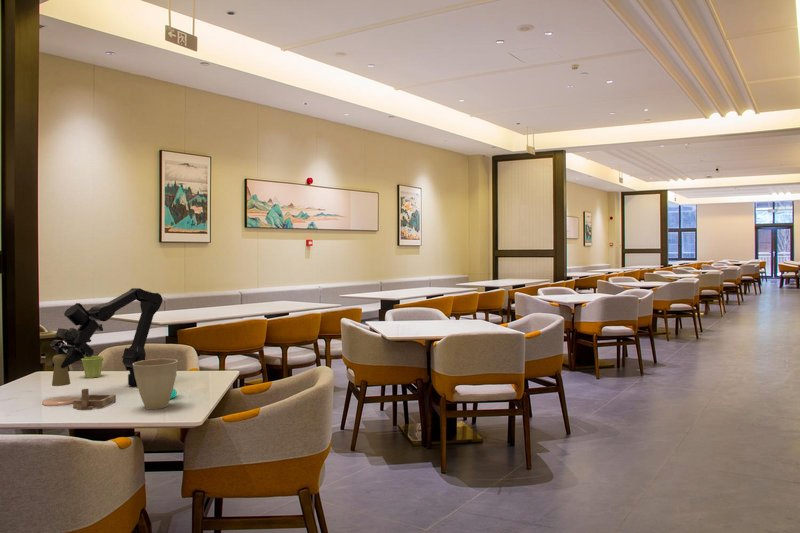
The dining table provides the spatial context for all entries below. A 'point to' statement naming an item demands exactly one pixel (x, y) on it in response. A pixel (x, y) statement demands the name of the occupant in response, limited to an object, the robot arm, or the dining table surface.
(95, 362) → the plant pot
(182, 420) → the dining table surface
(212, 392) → the dining table surface
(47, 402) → the coaster
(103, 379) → the dining table surface
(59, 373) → the olive bulb shape
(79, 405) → the collar stand
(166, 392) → the plant pot
